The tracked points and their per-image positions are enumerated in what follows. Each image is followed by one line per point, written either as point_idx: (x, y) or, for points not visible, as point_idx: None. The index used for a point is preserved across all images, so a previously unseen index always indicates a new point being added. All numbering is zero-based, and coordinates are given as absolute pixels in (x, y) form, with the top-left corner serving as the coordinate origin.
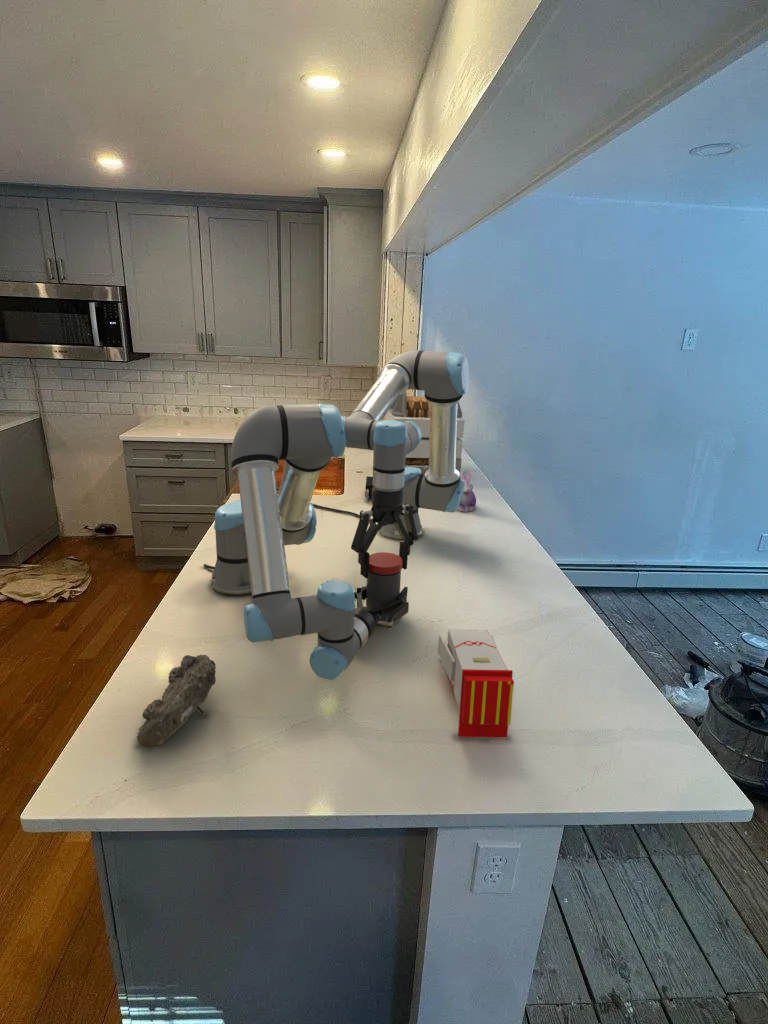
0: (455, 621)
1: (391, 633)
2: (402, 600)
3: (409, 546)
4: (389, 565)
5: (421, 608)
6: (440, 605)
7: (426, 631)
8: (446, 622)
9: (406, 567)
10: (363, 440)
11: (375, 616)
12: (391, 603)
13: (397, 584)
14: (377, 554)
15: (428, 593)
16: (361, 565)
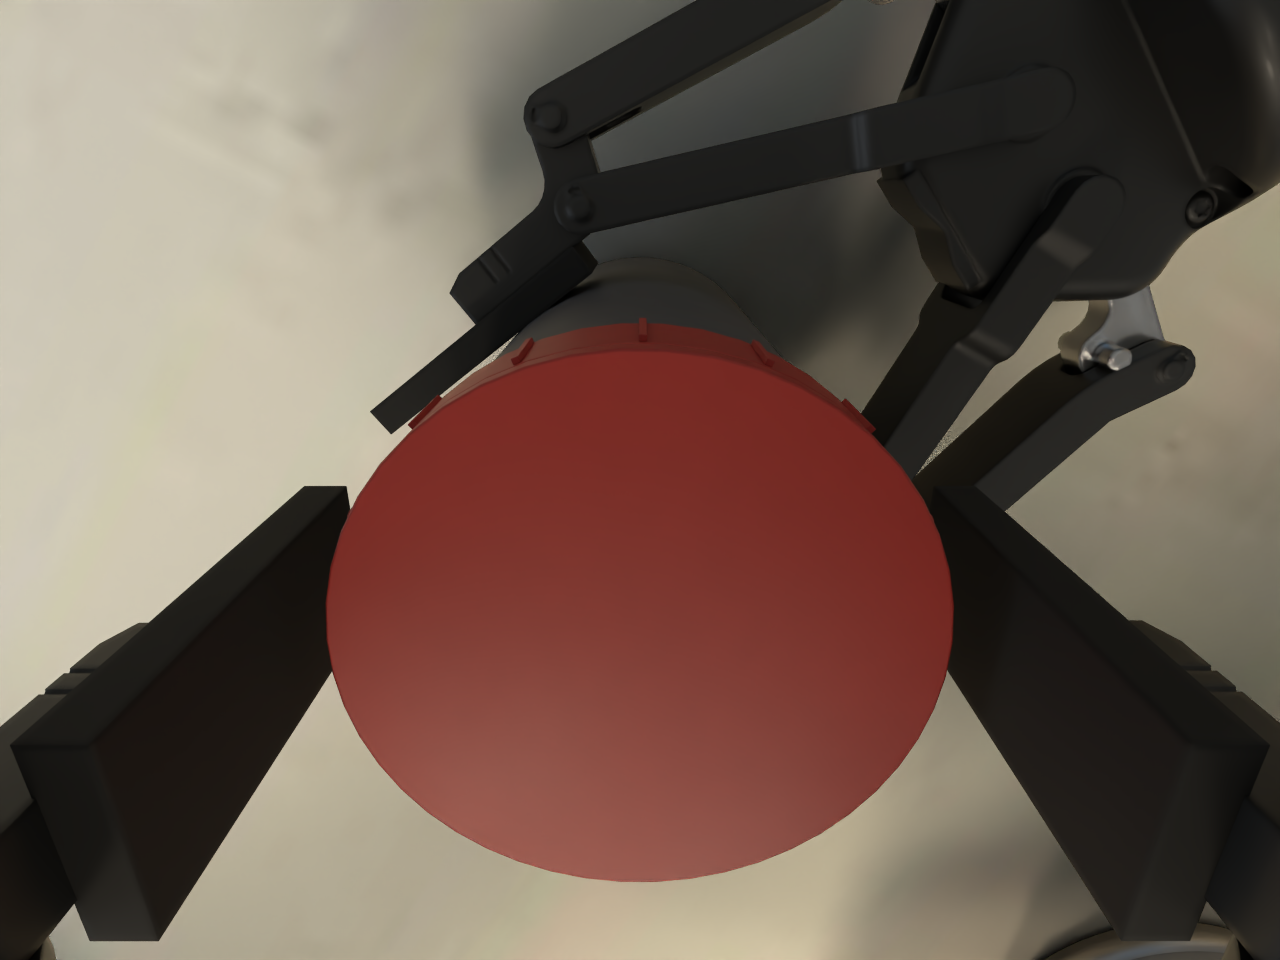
0: (114, 28)
1: (705, 135)
2: (560, 192)
3: (7, 744)
4: (694, 433)
5: (302, 348)
6: (134, 317)
7: (431, 12)
8: (199, 55)
9: (302, 495)
10: None
11: (1021, 18)
12: (704, 189)
13: (556, 320)
14: (637, 837)
15: (153, 507)
16: (1144, 624)
